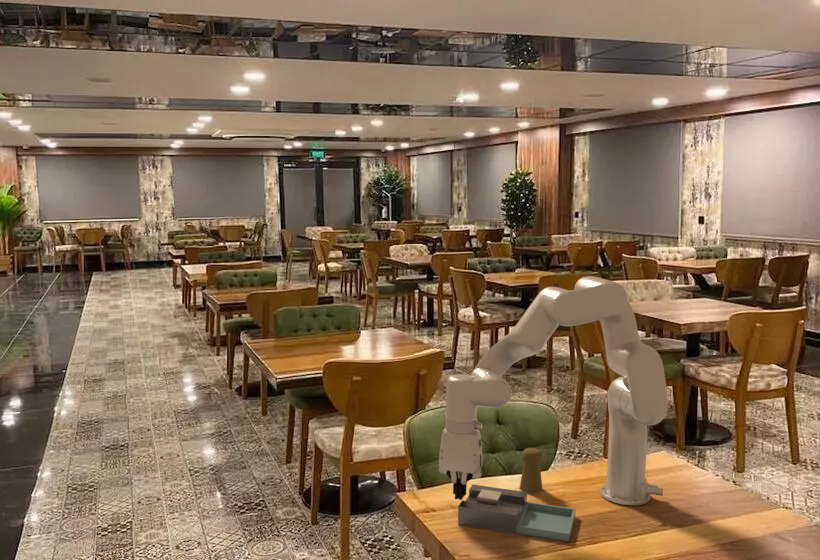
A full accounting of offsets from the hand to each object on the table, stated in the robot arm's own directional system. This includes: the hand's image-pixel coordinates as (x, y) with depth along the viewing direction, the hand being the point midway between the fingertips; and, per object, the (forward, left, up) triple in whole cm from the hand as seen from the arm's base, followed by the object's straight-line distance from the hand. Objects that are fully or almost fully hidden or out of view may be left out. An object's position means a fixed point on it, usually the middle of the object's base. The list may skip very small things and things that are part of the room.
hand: (459, 497), depth 180 cm
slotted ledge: (-8, 0, -4) cm, 9 cm away
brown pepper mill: (-14, -20, -4) cm, 25 cm away
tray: (-21, 0, -4) cm, 22 cm away
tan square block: (-7, 0, -1) cm, 8 cm away
